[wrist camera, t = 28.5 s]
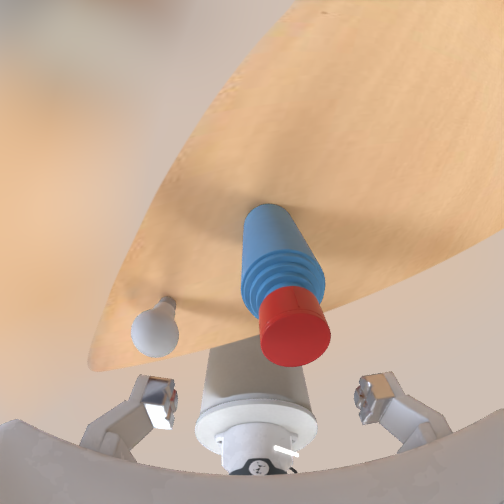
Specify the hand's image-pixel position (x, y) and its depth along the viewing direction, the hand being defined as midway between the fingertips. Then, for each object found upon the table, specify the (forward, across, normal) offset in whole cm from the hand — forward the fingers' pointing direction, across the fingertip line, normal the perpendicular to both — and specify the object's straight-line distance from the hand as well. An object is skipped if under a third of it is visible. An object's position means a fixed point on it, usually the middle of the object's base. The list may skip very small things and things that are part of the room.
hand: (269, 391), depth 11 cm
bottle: (+26, -2, 0) cm, 26 cm away
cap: (+7, -2, +1) cm, 7 cm away
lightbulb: (+27, +12, +12) cm, 32 cm away
